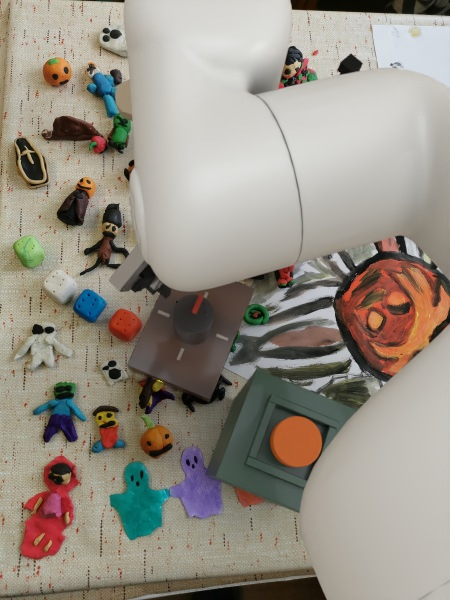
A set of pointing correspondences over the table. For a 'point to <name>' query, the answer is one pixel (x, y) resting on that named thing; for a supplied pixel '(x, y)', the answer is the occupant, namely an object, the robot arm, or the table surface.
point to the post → (256, 438)
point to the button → (296, 441)
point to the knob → (193, 319)
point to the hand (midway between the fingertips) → (194, 250)
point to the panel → (191, 357)
